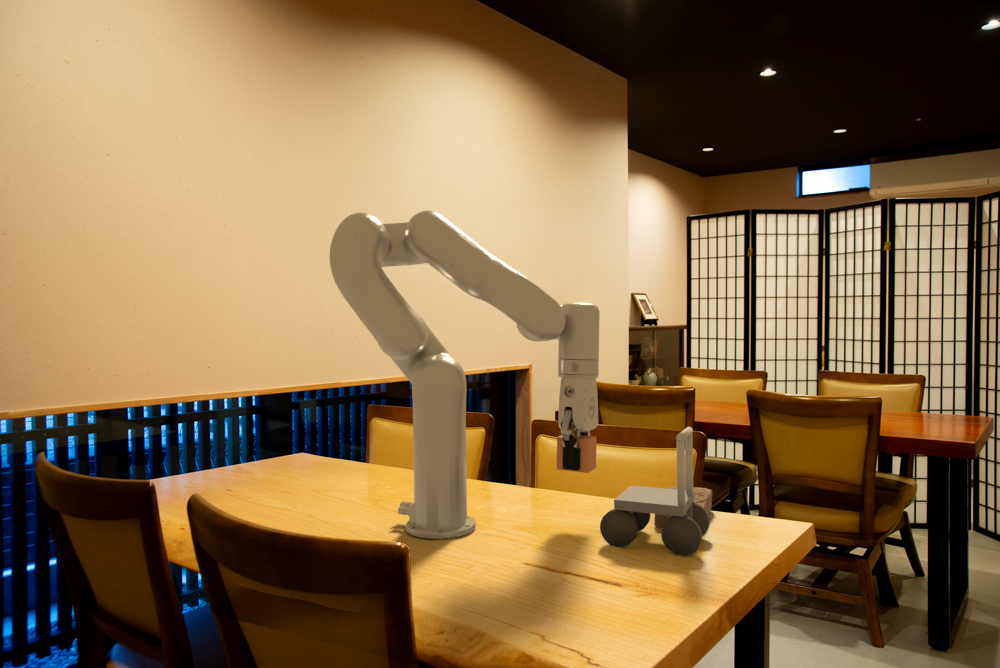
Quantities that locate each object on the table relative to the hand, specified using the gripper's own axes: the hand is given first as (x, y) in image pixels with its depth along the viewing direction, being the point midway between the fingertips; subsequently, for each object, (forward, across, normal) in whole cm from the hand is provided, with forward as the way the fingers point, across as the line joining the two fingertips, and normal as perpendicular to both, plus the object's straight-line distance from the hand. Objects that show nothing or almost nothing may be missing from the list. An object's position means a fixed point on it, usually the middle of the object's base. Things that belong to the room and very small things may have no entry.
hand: (576, 465), depth 117 cm
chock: (+1, 0, 0) cm, 1 cm away
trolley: (+10, -5, -16) cm, 20 cm away
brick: (+10, +11, -18) cm, 23 cm away
